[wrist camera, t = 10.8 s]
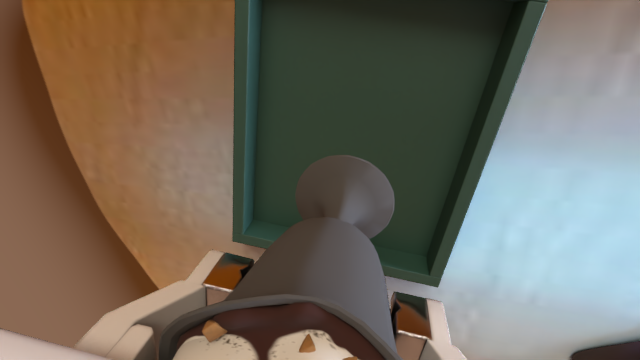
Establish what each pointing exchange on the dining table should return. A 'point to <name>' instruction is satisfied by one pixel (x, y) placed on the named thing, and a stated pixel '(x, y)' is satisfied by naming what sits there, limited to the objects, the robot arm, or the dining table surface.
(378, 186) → the sundae
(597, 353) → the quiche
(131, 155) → the dining table surface
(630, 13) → the dining table surface
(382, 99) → the serving tray
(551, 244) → the dining table surface
